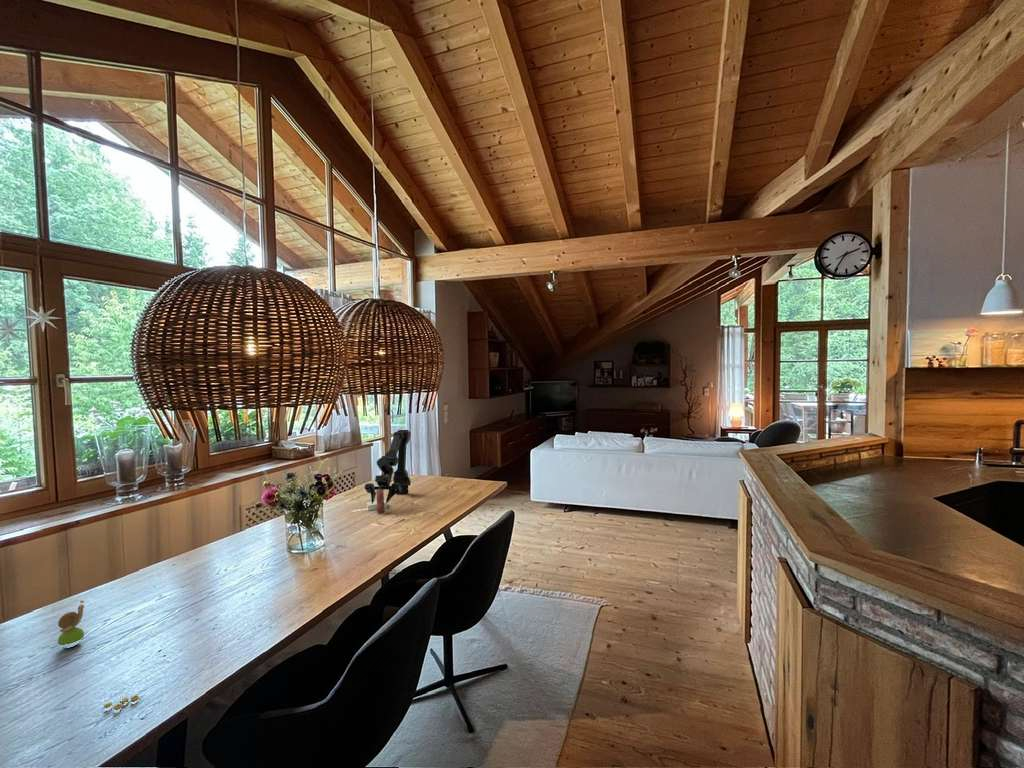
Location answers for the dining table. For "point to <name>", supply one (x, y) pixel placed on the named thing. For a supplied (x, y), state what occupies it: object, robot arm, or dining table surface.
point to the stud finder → (374, 505)
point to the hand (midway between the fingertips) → (379, 502)
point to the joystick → (380, 502)
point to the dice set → (122, 701)
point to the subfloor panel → (358, 510)
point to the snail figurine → (71, 626)
